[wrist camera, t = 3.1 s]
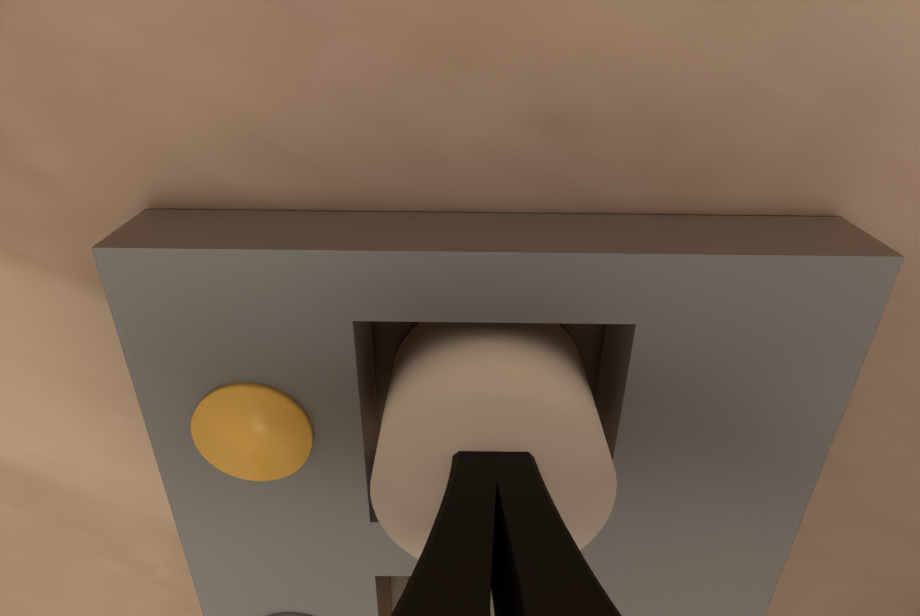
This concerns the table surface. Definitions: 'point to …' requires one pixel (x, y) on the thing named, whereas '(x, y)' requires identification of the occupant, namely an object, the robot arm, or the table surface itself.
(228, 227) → the button board
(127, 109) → the table surface
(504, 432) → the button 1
